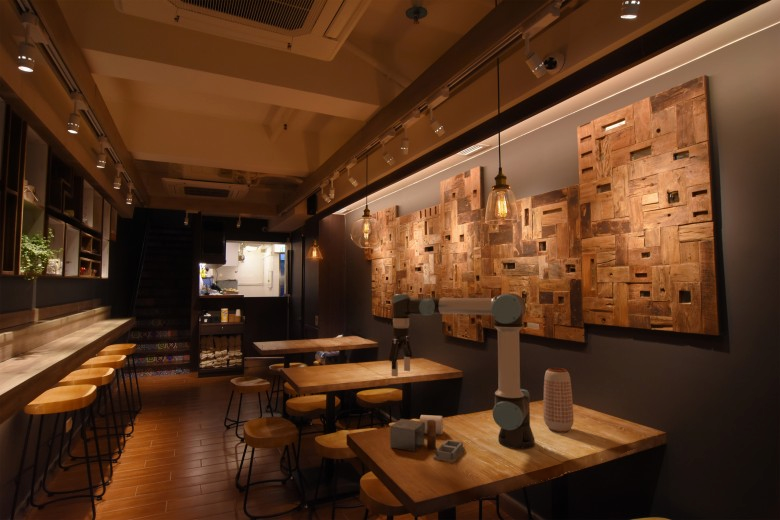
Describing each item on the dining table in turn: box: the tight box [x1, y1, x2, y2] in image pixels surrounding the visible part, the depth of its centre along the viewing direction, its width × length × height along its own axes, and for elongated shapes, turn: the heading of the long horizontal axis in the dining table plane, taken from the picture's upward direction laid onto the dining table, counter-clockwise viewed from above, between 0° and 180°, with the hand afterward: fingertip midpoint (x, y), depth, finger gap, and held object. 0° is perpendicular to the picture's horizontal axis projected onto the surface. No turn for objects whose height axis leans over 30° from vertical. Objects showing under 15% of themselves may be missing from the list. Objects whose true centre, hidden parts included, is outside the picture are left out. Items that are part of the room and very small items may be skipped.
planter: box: [543, 367, 575, 433], centre depth 202 cm, size 13×13×28 cm
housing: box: [389, 418, 425, 452], centre depth 181 cm, size 11×11×9 cm
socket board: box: [433, 439, 465, 464], centre depth 171 cm, size 8×15×3 cm, turn 154°
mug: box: [419, 414, 444, 436], centre depth 198 cm, size 12×10×8 cm
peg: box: [426, 420, 437, 451], centre depth 178 cm, size 4×4×11 cm
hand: (401, 373), depth 196 cm, fingers open, 13 cm apart
